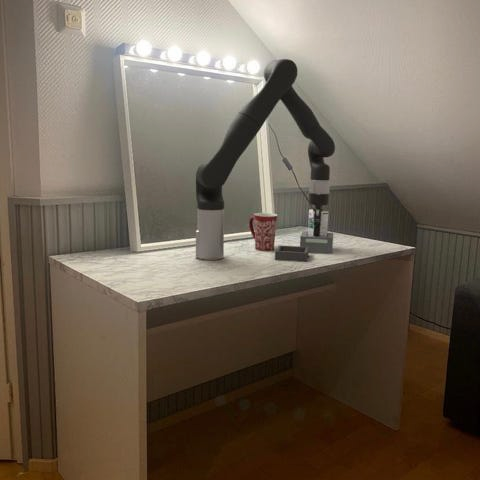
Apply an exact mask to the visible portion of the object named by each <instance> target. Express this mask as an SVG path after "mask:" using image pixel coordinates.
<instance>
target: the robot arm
mask: <svg viewBox="0 0 480 480" xmlns="http://www.w3.org/2000/svg"><path fill="white" fill-rule="evenodd" d="M297 76H298V66H297V65H296V63H295V62H294V61H293V60H291V59H289V58H281V59H276V60H272V61H271V60H270V61H269V62H267V64H266V65H265V67H264V69H263V78H264V80H265V84H264V85H263V87H262V88H261V89H260V91H259V92H258V93H256V94H255V95H254V96H253V97H252V98H251V99H250V100H249V101H248V102H246V103H245V104H244V105H243V106H242V107H241V109H240V110H239V111H238V113H237V114H236V115H235V117H234V118H233V120H232V122H231V123H230V125H229V127H228V129H227V130H226V133H225V136H224V139H223V141H222V143H221V145H220V147H219V148H218V150H217V151H216V152H215V154H214V155H213V156H212V158H211V159H210V160H209V161H205V162H202V163H201V164H200V165H199V166H198V167H197V170H196V173H195V196H196V199H195V200H196V203H197V230H195V258H196V259H200V260H205V261H206V260H207V261H209V260H210V261H216V260H222V259H224V254H225V249H224V247H225V246H224V244H225V242H224V241H225V240H224V239H225V201H224V198H223V186H224V185H225V184H226V182H227V180H228V179H229V177H230V174H231V172H232V171H233V169H234V167H235V165H236V163H237V161H238V160H239V159H240V157H241V156H242V155H243V154H244V152H245V151H246V150H247V148H248V147H249V145H250V144H251V143H252V141H253V140H254V138H255V137H256V136H257V135H258V133H259V131H260V130H261V129H262V127H263V126H264V123H265V122H266V121H267V120H268V118H269V116H270V115H271V113H272V112H273V110H274V109H275V108H276V106H277V104H278V103H279V101H281V102H282V104H283V105H284V107H286V109H287V111H288V112H289V113H290V115H291V117H292V118H293V120H294V122H295V124H296V125H297V128H298V129H299V130H300V132H301V134H302V136H303V137H304V138H305V139H309V140H310V141H309V144H308V147H307V155H308V160H309V166H310V180H309V181H310V182H309V189H308V190H309V191H308V192H309V193H308V204H309V205H311V206H314V208H312V209H313V211H314V212H313V221H314V223H313V224H314V236H316V237H319V236H320V226H321V222H322V215H323V213H322V214H321V211H325V210H324V209H323V206H328V205H329V203H330V177H331V176H330V174H331V168H330V165H329V164H326V163H325V159H324V158H329V157H331V156H333V155H334V154H335V151H336V144H335V142H334V140H333V138H332V137H331V136H330V134H329V133H328V132H327V131H326V130H325V129H324V127H322V126H321V125H320V123H319V121H318V118H317V117H316V115H315V113H314V112H313V110H312V109H311V108H310V106H309V105H308V104H307V103H306V102H305V101H304V100H303V99H302V98H301V97H300V96H299V94H298V93H297V92H296V89H294V87H293V85H294V83H295V81H296V80H297ZM316 215H319V216H316ZM315 221H319V222H315Z"/></svg>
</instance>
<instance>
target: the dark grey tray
mask: <svg viewBox="0 0 480 480" xmlns="http://www.w3.org/2000/svg"><path fill="white" fill-rule="evenodd" d="M308 257H309V247H300V245H299V246H296V245H278V246H277V248H276V249H275V250H274V260H276V261H287V260H288V262H289V261H291V262H304V263H305V262H308Z"/></svg>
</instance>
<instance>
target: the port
mask: <svg viewBox="0 0 480 480" xmlns="http://www.w3.org/2000/svg"><path fill="white" fill-rule="evenodd" d="M299 238H300V241H299V247H309V253H311V254H329V255H333V246H334V232H328V231H327V237H321V236H319V237H316V236H308V230H305V231H302V232H301V235H300V237H299Z"/></svg>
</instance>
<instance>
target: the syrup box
mask: <svg viewBox="0 0 480 480" xmlns="http://www.w3.org/2000/svg"><path fill="white" fill-rule="evenodd" d="M313 209H314V208H312V209H309V210H308V223H307V224H308V225H307V226H308V227H307V231H308V236H314V224H313V223H314V221H313V212H314V211H313ZM322 213H323V215H322V222H321V226H320V236H321V237H327V232H328V230H329V229H328V226H329V214H330V213H329V211H328V210H324V211H321V214H322ZM316 216H319V215H316ZM315 222H319V221H315Z"/></svg>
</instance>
